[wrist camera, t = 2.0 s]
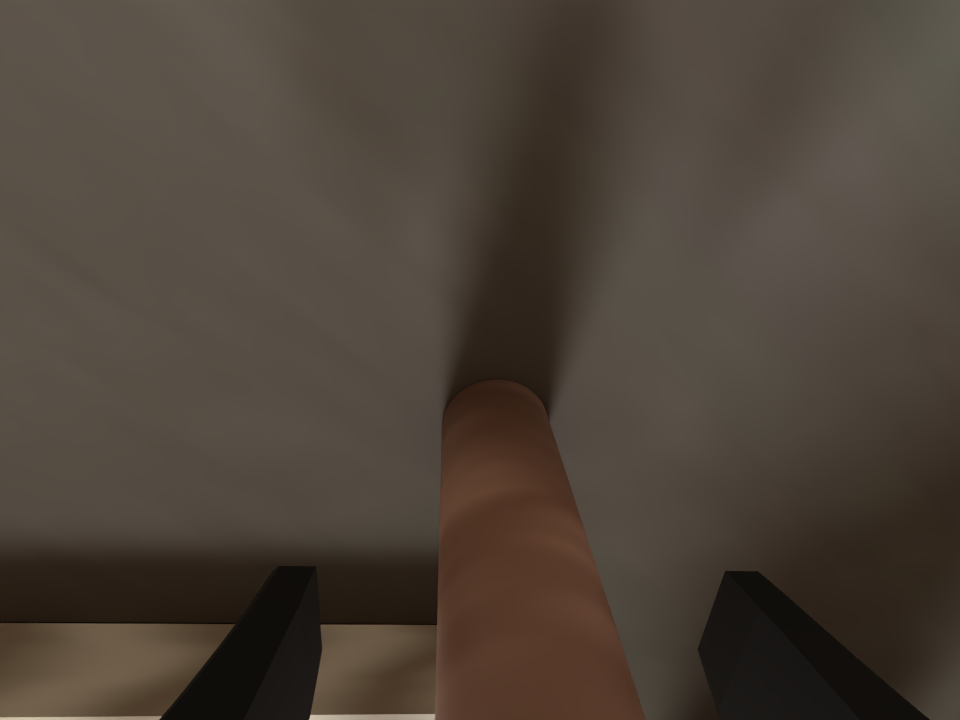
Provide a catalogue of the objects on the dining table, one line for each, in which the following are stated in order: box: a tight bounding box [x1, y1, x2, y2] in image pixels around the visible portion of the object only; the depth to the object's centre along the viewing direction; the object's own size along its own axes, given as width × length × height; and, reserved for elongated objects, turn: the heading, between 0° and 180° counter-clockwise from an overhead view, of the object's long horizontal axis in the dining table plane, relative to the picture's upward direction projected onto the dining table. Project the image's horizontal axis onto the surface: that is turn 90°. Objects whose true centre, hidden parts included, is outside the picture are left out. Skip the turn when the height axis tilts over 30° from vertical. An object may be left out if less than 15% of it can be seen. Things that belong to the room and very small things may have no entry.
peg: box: [435, 379, 646, 720], centre depth 11 cm, size 3×3×10 cm
